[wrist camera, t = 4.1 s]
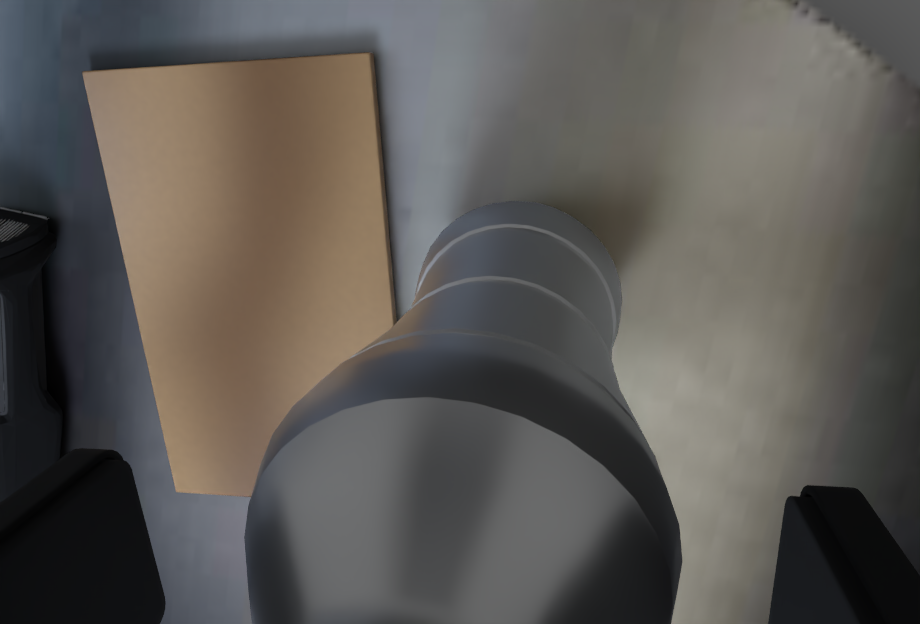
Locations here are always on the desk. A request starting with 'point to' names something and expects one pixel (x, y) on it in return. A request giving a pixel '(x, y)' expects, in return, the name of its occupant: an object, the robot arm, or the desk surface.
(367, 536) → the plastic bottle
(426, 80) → the desk surface
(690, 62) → the desk surface
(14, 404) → the electric trimmer
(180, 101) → the wooden board
